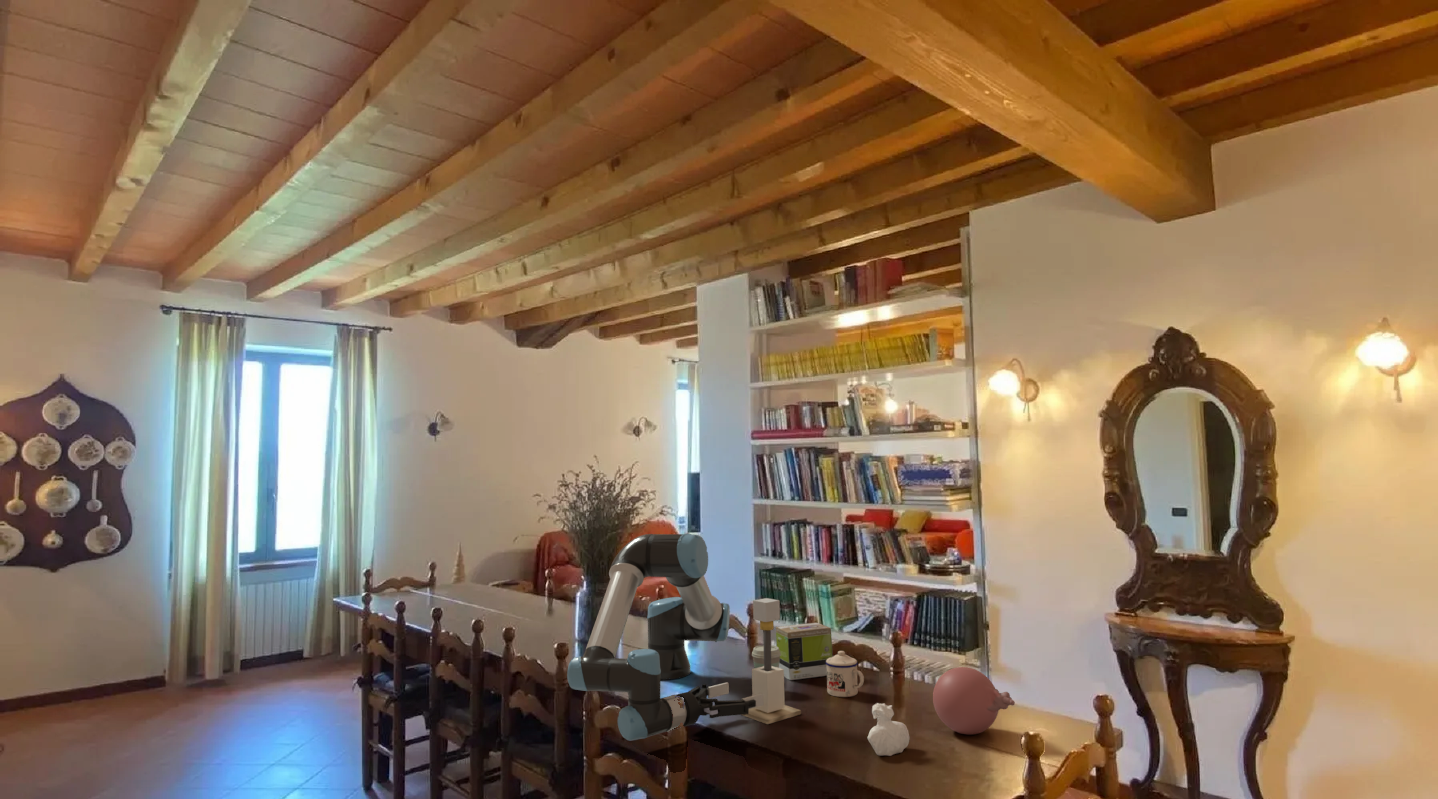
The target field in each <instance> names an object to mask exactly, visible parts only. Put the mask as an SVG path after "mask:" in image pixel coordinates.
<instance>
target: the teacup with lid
mask: <svg viewBox="0 0 1438 799" xmlns="http://www.w3.org/2000/svg"><path fill="white" fill-rule="evenodd" d="M832 656H833V657H831V658H828V659H827V660H826V664H827V676H826V687H827V688H826V691H827V694H828V695H831V696H833V697H837V698H839V697H840V698H848V697H849V698H850V697H855V696H856V695H857V694H858V692H859V691H858V689H859V688H861V687H863V684H864V681H865V677H864V674H863V673H862V671H860V670H858V664H859V663H858V660H857V659H856V658H853V657H851V656H849V655H847V654H846V652H845V651H844V650H839V651H837V654H835V655H832ZM858 676H859V682H858Z"/></svg>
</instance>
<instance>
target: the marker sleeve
mask: <svg viewBox="0 0 1438 799" xmlns="http://www.w3.org/2000/svg"><path fill="white" fill-rule="evenodd" d="M771 667H772V670H771V671H765V670H764V666H763V667H758V668H751V685H752V686H751V689H752V694H751V696H754V695H757V694H763V705H762V706H759V707H755V709H758V710H761V711H764V712H767V713H770V712H773V711H776V710H780V709H783V708H785V705H786V704H785V677H784V669H781V668H777V667H773V666H771Z"/></svg>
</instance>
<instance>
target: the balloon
mask: <svg viewBox="0 0 1438 799" xmlns="http://www.w3.org/2000/svg"><path fill="white" fill-rule="evenodd" d="M932 692H933V693H932V702H933V703H932V704H933V707H934V710H935V712H936V715H937V716H938V718H939V719H940V721H941V722H942V723H943V724H944V725H945V726H946V727H947V728H949V729H950V730H951V731H954V732H955V733H958V734H962V735H970V736H971V735H977V734H980V733H983V732H985V731H986V730H989V728H991V726H992V725H993V724H994V722H995V721H996V719H997V717H998V714H999V710H1007V709H1008V708H1009V706H1014V705H1015V700H1013V699H1012V697H1011V695H1010V693H1009V692H1008V691H1004V692H1000V691H999V690H998V689H997V688H996V687H995V685H994V684H993V682H992V681H991V680H990V678H988V677H987V675H986V674H984V673H982V672H981V671H979V670H977V669H975V668H972V667H966V666H957V667H954V668H951V669H949V670H946V671H945V672H944V673H943V674H942V675H941V676H939V677H938V678H937V681H936V683H935V685H934V688H933V691H932Z"/></svg>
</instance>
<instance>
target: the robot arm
mask: <svg viewBox="0 0 1438 799" xmlns="http://www.w3.org/2000/svg"><path fill="white" fill-rule="evenodd" d="M708 566H709V553H708V547H707V544H706V541H705V540H704V538H703V537H702V536H701V535H698V534H691V533H671V534H670V533H663V534H662V533H661V534H660V533H647V534H642V535H639V536H637V537H634V538H633V539H632V540H630V541H629V542H628V543H626V544H625V545H624V546H623V547H622V548H621V549H620V550H619V552H618V553H617V555H616V556H615V557H614V559H613V561H612V563H611V565H610V569H609V572H608V575H609V582H608V585H607V587H606V591H605V594H604V596H603V599H602V602H601V605H600V608H599V611H598V613H597V617H596V620H595V622H594V625H593V628H592V631H591V634H590V636H589V639H588V642H587V645H586V648H585V650H584V653H583V655H582V656H580V655H579V656H574V657H573V658H572V659H571V660H570V661H569V663H568V667H567V672H566V673H567V676H566V678H567V682H568V684H569V687H570V688H571V689H572V690H576V691H577V690H578V691H585V692H614V693H615V692H616V693H627V694H628V697H627V698H628V700H627V701H628V702H627V703H628V705H627V706H626V705H625V707H622V708H621V709H620V710H619V713H618V715H617V726H618V730H619V733H620V735H621V736H622V738H624V739H625V740H627V741H629V742H631V741H637V740H641V739H646V738H649V737H652V736H656V735H659V734H662V733H666V732H667V733H670V732H669V731H670V730H671V731H673V730H675V729H674V728H676V727H678V726H679V725H680V723H681V722H682V723H683V725H684V727H689V726H692V725H694V724H696V723H697V722H698V720H699V718H700V717H701V716H702V717H704V716H708V715H709V719H715V718H719V717H720V718H721V717H729V716H740V715H741V716H743V715H746V714H749V709H752V708H755V707H759V706H762V705H763V694H757V695H754V696H752V695H750V696H747V697H742V698H741V700H739V699H737V700H735V699H734V700H733V699H732V700H718V698H716V697H721V696H723V695H728V694H729V693H730V692H729V690H730V687H729V686H730V684H729V682H728V681H727V682H723V683H719V684H715V685H712V686H708V687H707V684H706V683H704V684H701V686H700V685H697V686H695V687H694V688H692V689H690V690H688V691H685V692H681V693H676V694H674V695H673V694H672V695H669V696H668V695H667V696H665V697H661V680H674V679H682V678H684V677H687V676H689V675H690V674H691V664H690V660H689V658H688V655H687V651H686V648H685V641H689V642H691V641H693V642H694V641H695V642H714V643H717V642H725V641H727V639H728V636H729V631H730V630H729V629H730V617H731V616H730V615H731V614H730V613H731V611H730V609H731V608H730V605H729V603H725V602H721V601H720V600H719V599H718V598H717V597H716V596H714V595H712V592H711V590H710V587H709V584H708V583H707V580H706V577H705V575H706V573H707V570H708V568H709V567H708ZM649 577H651V578H653V577H655V578H665V579H666V581H667V583H669V584H670V585H672V586H673V587H676V589H677V591H678V593H679V596H680V597H679V596H673V597H666V598H661V599H658V600H654V601H651V602H650V603H649V605H648V607H647V617H646V618H647V648H642V649H640V648H639V649H634V650H631V651H629V653H628V654H627V658H621V657H620V658H618V657H617V658H616V656H617V652H618V650H619V647H620V642H621V639H622V637H623V634H624V630H625V628H626V624H627V621H628V618H629V614H630V611H631V609H632V605H633V602H634V599H635V596H636V592H637V589H638V587H640V586H641V585H643V583H644V580H645V578H649ZM675 696H680V697H683V698H684V702H685V705H684V709H683V708H680V705H679V704H678V702H680V701H678V700H677V699H679V698H678V697H676V698H675ZM674 700H675V701H674ZM680 703H681V702H680ZM670 707H671V708H670ZM671 710H672V711H671ZM672 714H673V717H672ZM742 714H743V715H742ZM672 721H673V723H672ZM684 727H683V728H684ZM672 729H673V730H672Z"/></svg>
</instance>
